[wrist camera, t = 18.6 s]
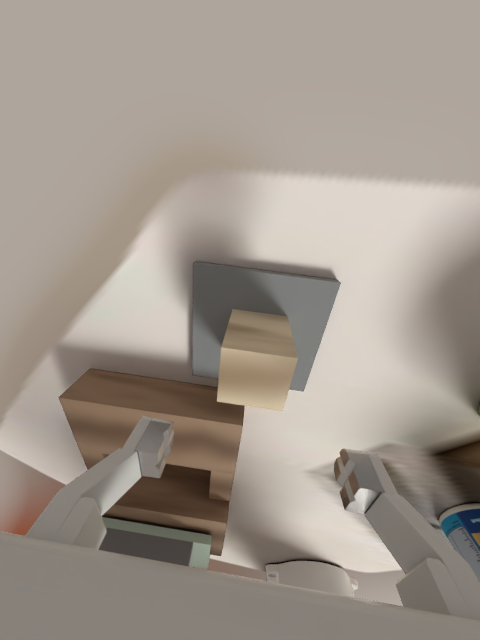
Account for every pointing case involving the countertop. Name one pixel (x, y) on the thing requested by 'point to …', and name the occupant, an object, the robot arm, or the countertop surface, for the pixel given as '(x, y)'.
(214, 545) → the puzzle board
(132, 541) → the sliding lid
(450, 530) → the beverage bottle
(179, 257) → the countertop surface
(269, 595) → the robot arm
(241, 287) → the rubber pad
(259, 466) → the countertop surface
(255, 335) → the maple block
